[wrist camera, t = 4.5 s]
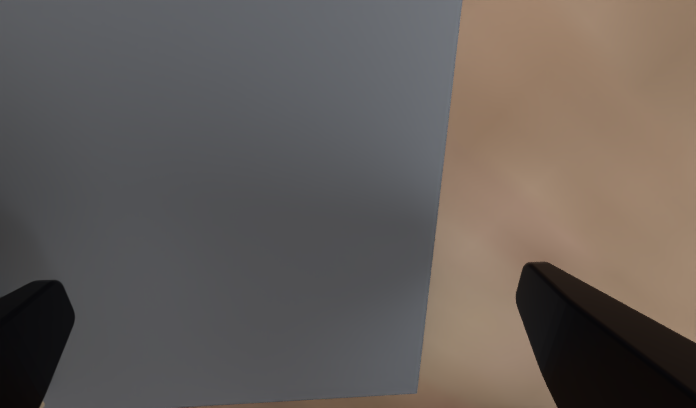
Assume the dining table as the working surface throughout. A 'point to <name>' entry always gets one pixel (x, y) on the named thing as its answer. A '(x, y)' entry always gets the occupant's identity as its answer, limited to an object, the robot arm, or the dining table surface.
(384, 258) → the grey board
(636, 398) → the robot arm
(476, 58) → the dining table surface
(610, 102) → the dining table surface
